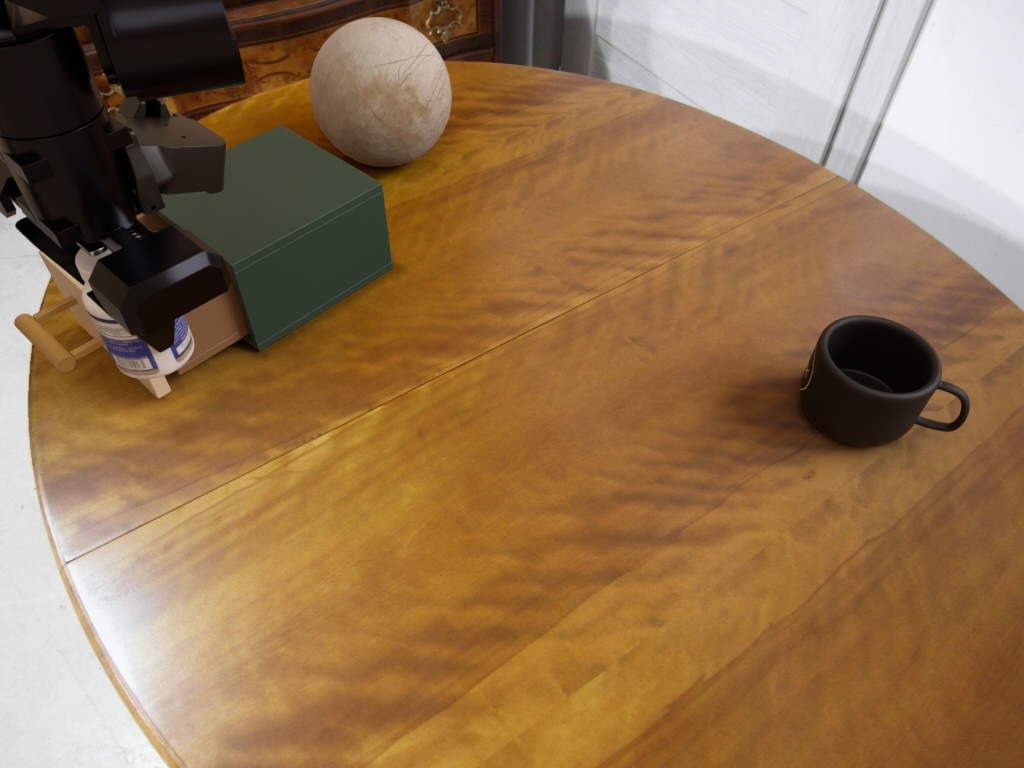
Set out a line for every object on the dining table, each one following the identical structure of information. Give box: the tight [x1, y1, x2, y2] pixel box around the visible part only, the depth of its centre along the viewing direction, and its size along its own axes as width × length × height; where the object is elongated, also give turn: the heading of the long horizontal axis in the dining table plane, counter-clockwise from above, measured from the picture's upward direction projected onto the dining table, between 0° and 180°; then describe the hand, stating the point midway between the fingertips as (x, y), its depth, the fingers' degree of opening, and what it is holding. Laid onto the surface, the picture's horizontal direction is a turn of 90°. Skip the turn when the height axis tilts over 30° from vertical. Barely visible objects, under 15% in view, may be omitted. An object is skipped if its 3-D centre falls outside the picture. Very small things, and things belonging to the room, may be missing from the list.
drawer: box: [13, 213, 249, 399], centre depth 65 cm, size 19×13×8 cm
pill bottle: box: [75, 249, 194, 380], centre depth 51 cm, size 5×5×9 cm
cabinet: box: [155, 124, 394, 353], centre depth 71 cm, size 16×15×10 cm
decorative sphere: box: [309, 16, 453, 168], centre depth 83 cm, size 15×15×15 cm
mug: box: [799, 314, 971, 448], centre depth 61 cm, size 12×9×7 cm
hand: (144, 328), depth 52 cm, fingers closed on pill bottle, 5 cm apart
